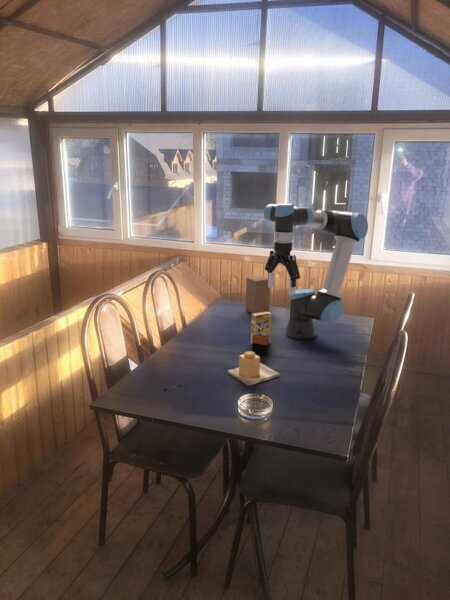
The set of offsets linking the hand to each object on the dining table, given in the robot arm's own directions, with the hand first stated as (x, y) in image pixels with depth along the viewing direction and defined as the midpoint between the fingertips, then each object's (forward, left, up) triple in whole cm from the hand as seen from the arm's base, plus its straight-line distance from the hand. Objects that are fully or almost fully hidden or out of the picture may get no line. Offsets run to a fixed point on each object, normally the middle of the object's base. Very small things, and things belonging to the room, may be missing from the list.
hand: (281, 290), depth 213 cm
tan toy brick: (+22, +8, -30) cm, 38 cm away
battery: (+3, -9, -32) cm, 33 cm away
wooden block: (-34, -59, -32) cm, 75 cm away
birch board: (+19, +7, -32) cm, 38 cm away
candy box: (-5, -19, -32) cm, 37 cm away
